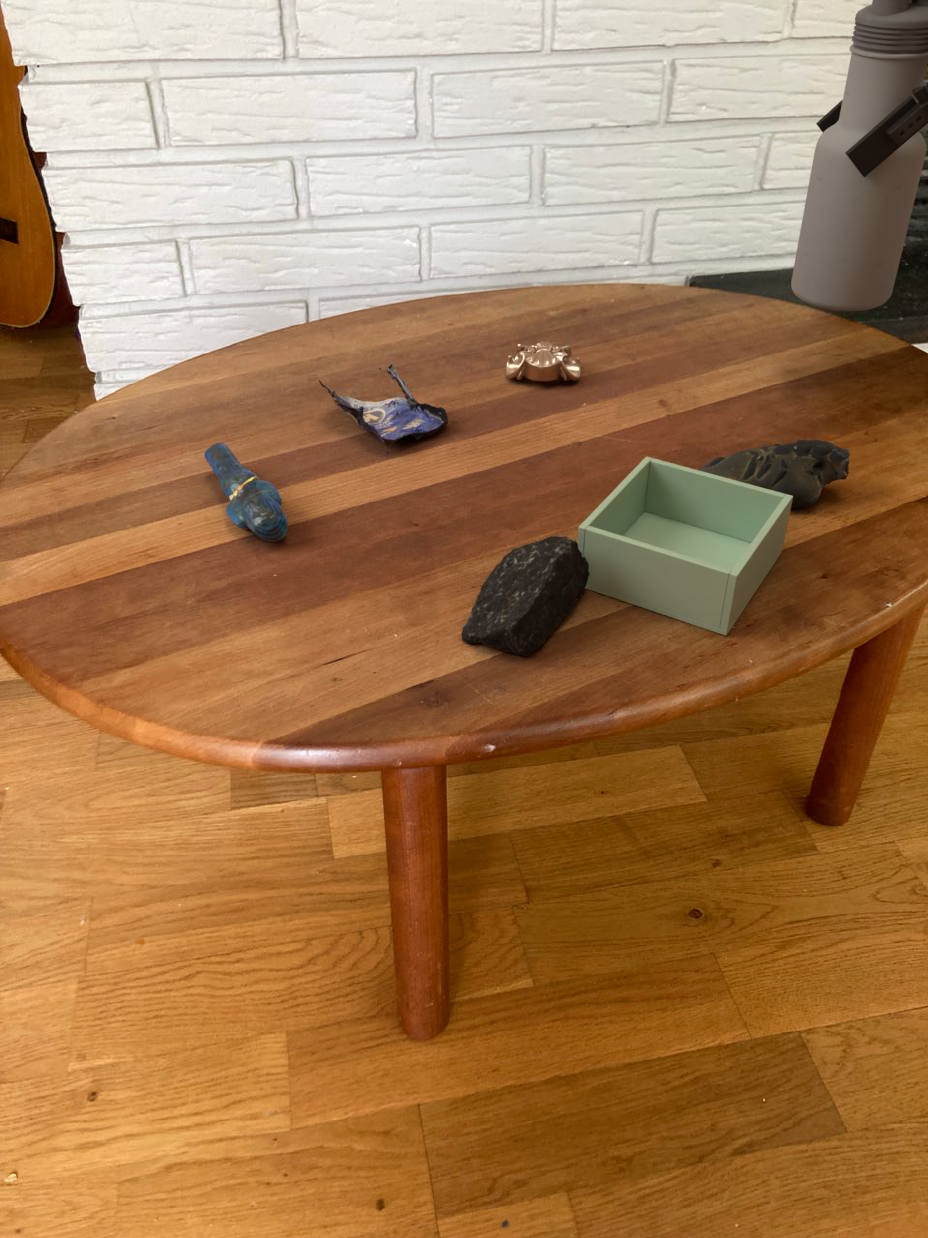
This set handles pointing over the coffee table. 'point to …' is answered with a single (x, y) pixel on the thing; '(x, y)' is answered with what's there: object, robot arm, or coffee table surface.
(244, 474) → the blue long piece
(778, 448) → the stone
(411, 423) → the snack package
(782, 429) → the coffee table surface
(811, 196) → the water bottle
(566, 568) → the rock
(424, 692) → the coffee table surface
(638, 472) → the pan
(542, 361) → the ornament
